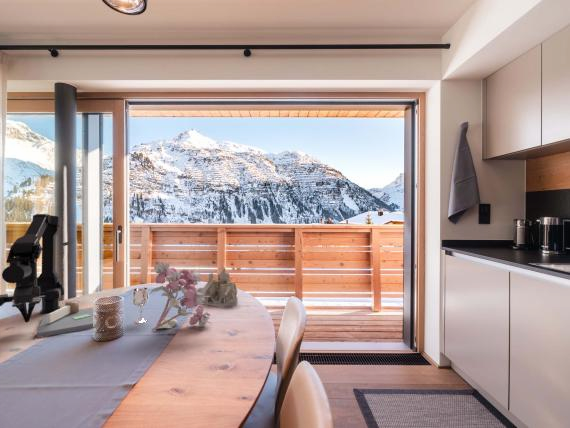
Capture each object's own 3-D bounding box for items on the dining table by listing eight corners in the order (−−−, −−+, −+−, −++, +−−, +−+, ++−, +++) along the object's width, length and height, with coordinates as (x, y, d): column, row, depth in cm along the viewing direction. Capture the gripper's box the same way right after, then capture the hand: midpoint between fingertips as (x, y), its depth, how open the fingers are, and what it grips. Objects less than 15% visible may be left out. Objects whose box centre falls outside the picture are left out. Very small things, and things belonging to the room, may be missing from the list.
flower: (165, 344, 93) (197, 265, 100) (123, 322, 104) (155, 254, 112) (208, 349, 108) (233, 281, 116) (167, 330, 120) (193, 269, 128)
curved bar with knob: (70, 310, 125) (69, 300, 125) (81, 310, 125) (81, 300, 125) (42, 324, 110) (42, 313, 110) (55, 324, 110) (54, 312, 110)
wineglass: (142, 324, 114) (142, 291, 114) (128, 323, 115) (128, 290, 115) (152, 318, 119) (152, 287, 119) (139, 317, 120) (138, 286, 120)
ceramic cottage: (199, 298, 146) (200, 267, 145) (234, 297, 151) (236, 266, 150) (201, 311, 131) (202, 275, 130) (240, 308, 136) (241, 274, 135)
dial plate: (44, 318, 121) (44, 313, 121) (92, 311, 129) (92, 306, 129) (36, 337, 102) (36, 332, 102) (94, 327, 111) (93, 322, 111)
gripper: (-17, 285, 97) (-16, 335, 97) (57, 278, 107) (58, 323, 107) (-8, 278, 106) (-7, 324, 106) (60, 272, 116) (60, 314, 116)
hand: (27, 321), depth 109 cm, fingers closed
